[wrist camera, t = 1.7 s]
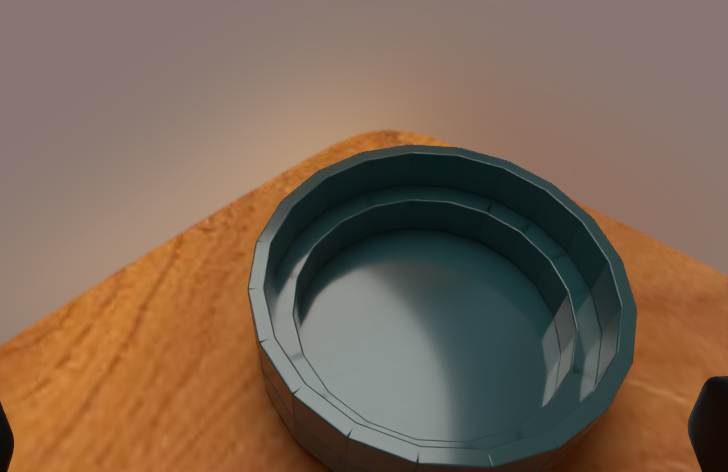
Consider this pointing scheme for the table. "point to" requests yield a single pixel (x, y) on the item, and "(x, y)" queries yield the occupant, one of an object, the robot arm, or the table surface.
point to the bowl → (438, 314)
